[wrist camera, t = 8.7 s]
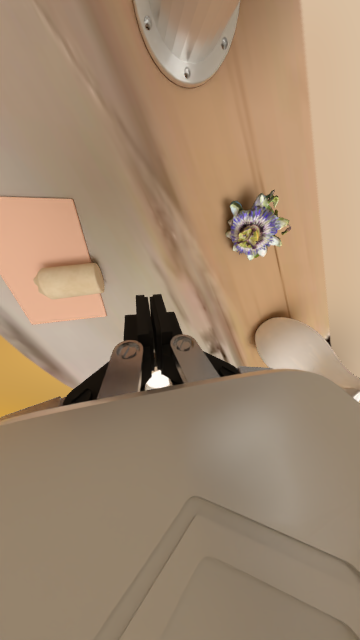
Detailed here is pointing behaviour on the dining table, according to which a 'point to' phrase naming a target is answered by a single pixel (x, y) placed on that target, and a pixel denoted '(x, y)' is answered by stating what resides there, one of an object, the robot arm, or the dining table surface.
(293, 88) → the dining table surface
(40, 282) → the candle
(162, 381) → the spread jar
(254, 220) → the passion flower
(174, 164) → the dining table surface
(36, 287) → the mat
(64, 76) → the dining table surface
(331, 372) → the pitcher
